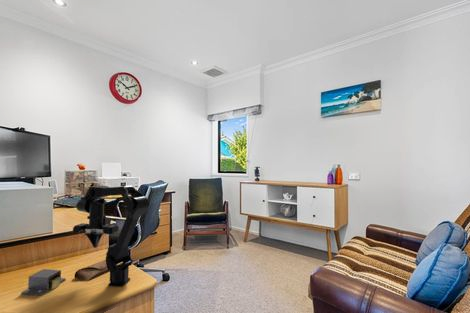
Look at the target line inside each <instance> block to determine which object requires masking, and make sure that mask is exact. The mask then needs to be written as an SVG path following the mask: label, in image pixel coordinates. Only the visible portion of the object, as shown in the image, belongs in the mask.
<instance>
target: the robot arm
mask: <svg viewBox="0 0 470 313" xmlns="http://www.w3.org/2000/svg"><path fill="white" fill-rule="evenodd" d="M129 195H130V196H131V197H130V196H129ZM109 196H121V197H122V202H123V204H124V205H125V206H126V207H125V212H126V217H125V220H124V222H123V225H122V227H121V229H120V227H119V225H118V224H111V222H112V218H111V217H107V216H106V215H107V214H104V213H105V212H104V211H105V210H104V209H105V205H106V204H108V201H107V200H106V199H105V198H106V197H109ZM148 199H149V198H148V197H146V195H144V194H143V193H142V192H141V191H140V190H137V189H136V188H135V187H134V186H133V185H130V184H129V185H122V186H113V187H112V186H107V185H95V186H94V185H92V186H89V188H88V190H87V191H86V192H85V194H84V196H81V197H80V200H78V201H77V203H76V205H75V206H76V209H77V211H78V212H79V211H80V212H82V213H83V212H84V213H89V215H88V216H87V217H86V218H87V220H88V223H79V224H75V225H74V226H73V227H72V233H80V232H81V231H85V233H84V235H85V236H86V237H87V238H88V240H89V242H90V243H91V245H92V247H93V249H96V248H98V245H99V244H100V240H101V238H102V236H103V234H104V235H113V234H114V233H117V232H119V229H120V232H119V235H118V238H117V240H116V243H114V244H112V245H109V246H108V248H107V252H106V253H105V255H106V256H105V260H106V264H107V269H108V271H109V283H108V284H107V286H109V287H111V286H112V287H124V286H125V285H126V284H127V283H128V282H129V281H130V280H131V277H129V275H130V274H129V273H130V272H129V271H130V270H129V269H130V266H132V265H133V262H134V261H133V259H132V256H131V255H130V254H129V253H130V250H129V245H130V241H131V240H132V236H133V235H134V232H135V229H136V226H137V224H138V223H139V220H140V218H141V217H142V216H143V215H144V214H145V213H146V211H147V210H148V208H149V207H150V206H149V205H150V202H149V200H148Z"/></svg>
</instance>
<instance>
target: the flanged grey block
mask: <svg viewBox="0 0 470 313" xmlns="http://www.w3.org/2000/svg"><path fill="white" fill-rule="evenodd" d="M61 274H62V270H61V269H60V270H59V269H45V268H44V269H43V268H42V269H41V270H39V271H37V272H35V273H33V274H31V275H29V276H28V285H27V288H26V289H25V290H23V291H21V292H20V293H21V295H26V296H42V295H44V294H46V293H47V292H49V290H48V287H49V279H50V278H52V277H60V284H62V283H63V282H65V281H66V278H65V277H61Z"/></svg>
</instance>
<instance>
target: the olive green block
mask: <svg viewBox="0 0 470 313" xmlns="http://www.w3.org/2000/svg"><path fill="white" fill-rule="evenodd" d="M60 285H61V283H60V277H52V278H50V279H49V287H48V291H52V290H54V289H56V288H58V287H60Z"/></svg>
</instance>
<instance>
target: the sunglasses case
mask: <svg viewBox="0 0 470 313" xmlns="http://www.w3.org/2000/svg"><path fill="white" fill-rule="evenodd" d="M108 272H109V273H110V271H108V269H107V264H106V259H104V260H101V261H98V262H95V263H93V264H91V265H87V266H86V267H82V268H79V269H78V270H76V271H75V272H74V273H75V274H74V279H76V280H80V281H82V282H86V283H88V282H89V281H91V280H93V279H95V278H98V277H100V276H101V275H104V274H106V273H108Z"/></svg>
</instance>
